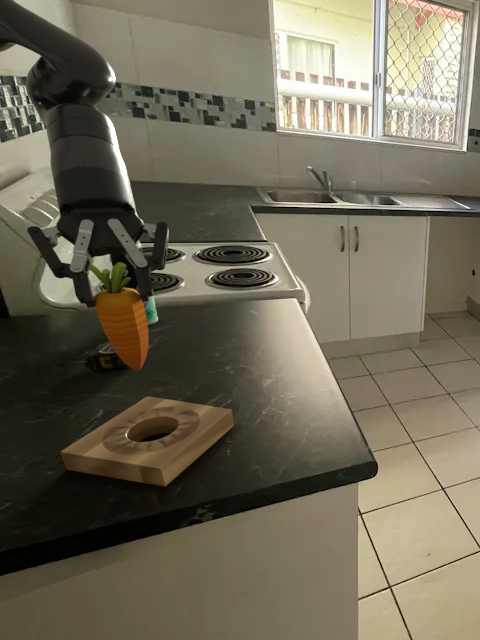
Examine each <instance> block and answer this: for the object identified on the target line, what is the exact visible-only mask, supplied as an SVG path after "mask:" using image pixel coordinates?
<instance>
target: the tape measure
mask: <svg viewBox="0 0 480 640" xmlns="http://www.w3.org/2000/svg"><path fill="white" fill-rule="evenodd" d="M83 365H84V367H85V368H88V369H90V370H91V371H98V370H102V369H104V370H115V369H120V368H121V369H122V368H126V367H127V366H128V365H126V364H125V363H124V362H123V361H122V360H121V358H120V357H119V356H118V355H117V353H116V352H115V350H114V348H113V347H112V345H111V343H110V341H103V342H101V343H99V344H98V345H97V346H96V347H95V348H94V350H93V351H92V352H91V353H90V354H88V355H87V357H86V359H85V361H83ZM128 367H129V366H128Z"/></svg>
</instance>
